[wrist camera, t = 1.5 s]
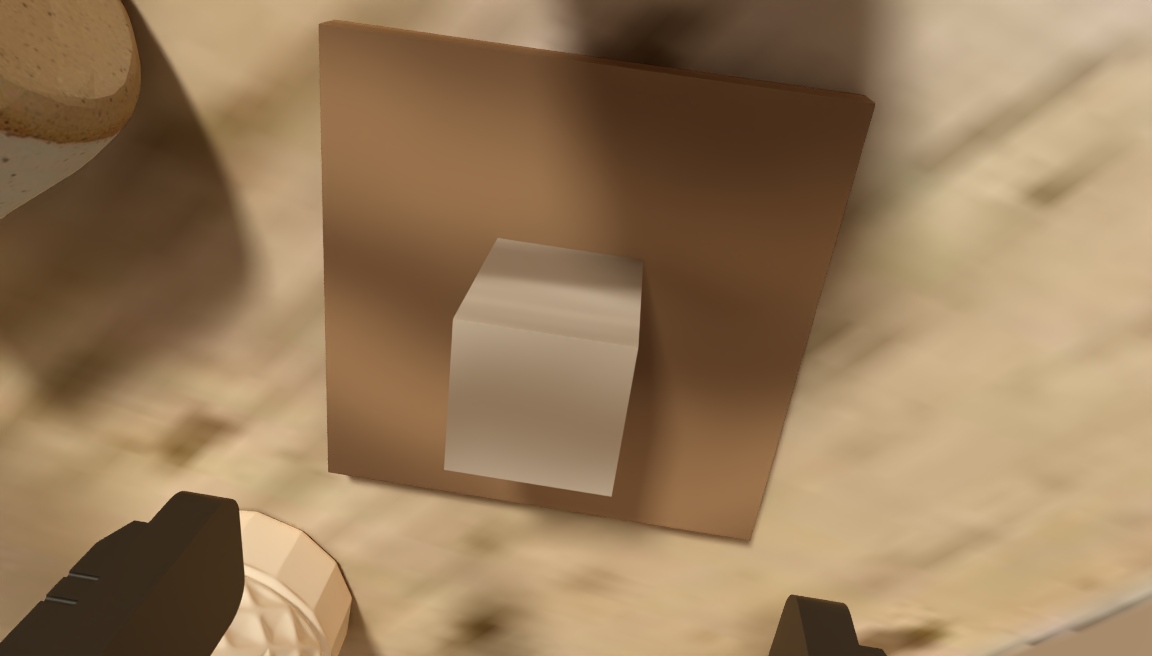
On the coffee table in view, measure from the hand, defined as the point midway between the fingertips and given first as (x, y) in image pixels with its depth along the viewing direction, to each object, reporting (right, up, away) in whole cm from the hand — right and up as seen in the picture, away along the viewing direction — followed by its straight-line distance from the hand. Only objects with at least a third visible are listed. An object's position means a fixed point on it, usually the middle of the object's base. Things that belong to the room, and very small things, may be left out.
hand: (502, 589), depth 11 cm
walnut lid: (+1, +5, +9) cm, 11 cm away
